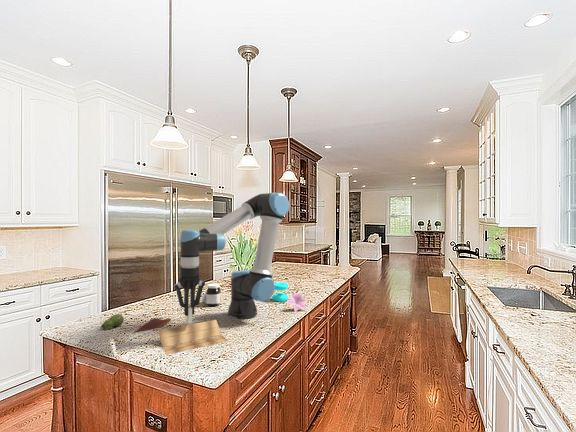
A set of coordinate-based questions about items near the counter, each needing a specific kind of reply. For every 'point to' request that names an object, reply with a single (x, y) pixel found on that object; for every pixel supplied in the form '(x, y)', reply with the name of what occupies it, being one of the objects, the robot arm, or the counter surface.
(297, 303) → the lily
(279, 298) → the donuts
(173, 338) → the plank
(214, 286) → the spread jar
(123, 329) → the counter surface
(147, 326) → the wooden tablet
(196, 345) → the laid boards
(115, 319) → the pear
